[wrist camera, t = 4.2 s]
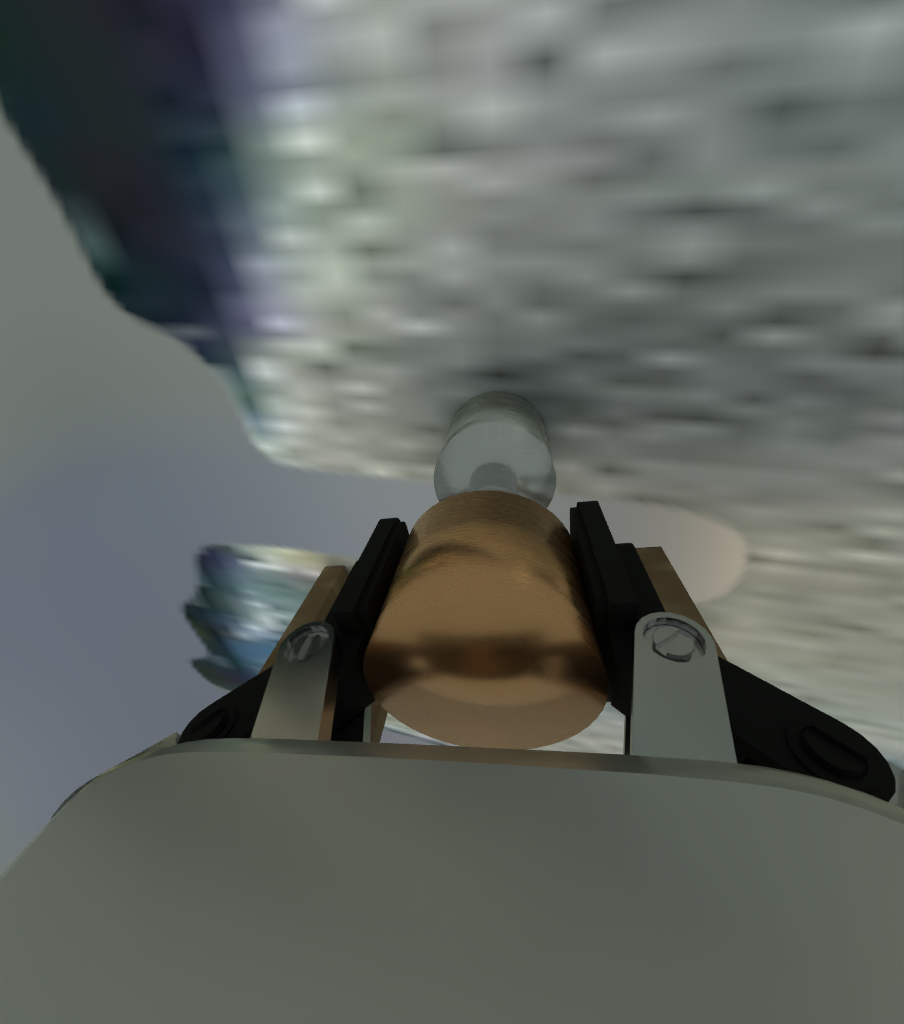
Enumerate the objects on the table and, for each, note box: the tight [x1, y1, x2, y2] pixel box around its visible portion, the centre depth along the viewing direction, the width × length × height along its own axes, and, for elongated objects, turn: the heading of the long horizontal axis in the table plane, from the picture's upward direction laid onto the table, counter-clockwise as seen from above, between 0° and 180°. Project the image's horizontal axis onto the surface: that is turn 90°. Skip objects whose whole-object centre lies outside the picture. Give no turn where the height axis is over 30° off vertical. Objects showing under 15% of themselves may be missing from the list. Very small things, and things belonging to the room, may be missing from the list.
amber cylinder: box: [363, 392, 608, 750], centre depth 13 cm, size 5×5×14 cm
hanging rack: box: [259, 547, 727, 743], centre depth 22 cm, size 22×14×14 cm, turn 101°
